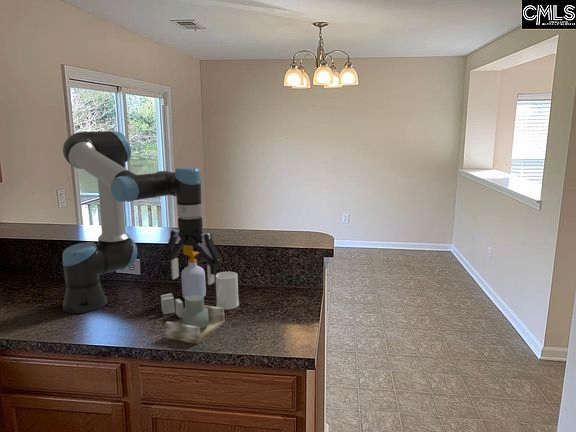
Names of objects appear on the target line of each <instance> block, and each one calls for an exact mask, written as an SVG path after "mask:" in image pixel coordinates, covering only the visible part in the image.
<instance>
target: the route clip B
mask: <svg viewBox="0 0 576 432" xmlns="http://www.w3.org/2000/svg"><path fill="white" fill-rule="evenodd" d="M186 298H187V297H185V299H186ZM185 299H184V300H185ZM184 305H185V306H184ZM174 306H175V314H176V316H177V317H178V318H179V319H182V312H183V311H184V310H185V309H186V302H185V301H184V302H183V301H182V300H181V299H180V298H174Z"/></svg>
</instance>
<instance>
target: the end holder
mask: <svg viewBox="0 0 576 432" xmlns="http://www.w3.org/2000/svg"><path fill="white" fill-rule="evenodd" d="M204 307H205V308H207V309H208V316H209V325H207V326H206V327H204V328H202V329H200V327H197V326H191V325H186V324H183V322H181V323H179V322H173V321H168V320H167V321H166V322H165V323H164V326H165V334H164V336H165V338H166V339H171V340H176V341H181V342H186V343H190V344H196V345H198V344H199V343H201V342H202V341H203V340H205V339H206V338H207V337H209V335H211V334H212V333H213V332H214V331H215V330H216V329H218V328H219V327H220V326H222V325H223V324H224V323H225V322H226V318H225V310H224V308H220V307H217V306H213V305H207V304H204Z"/></svg>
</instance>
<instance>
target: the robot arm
mask: <svg viewBox="0 0 576 432" xmlns="http://www.w3.org/2000/svg"><path fill="white" fill-rule="evenodd" d="M62 146H63V147H62V154H63V156H64V159H65V160H66V162H67V163H68V164H70V166H72V167H74V168H76V169H78V170H84V171H85V172H87V173H88V174H90V175H91V176H93V177H95V178H96V179H97V187H98V189H97V190H98V198H99V213H100V225H101V234H100V235H99V236H98V238H97V240H98V241H97V243H98V244H96V243H95V242H92V241H85V242H79V243H75V244H72V245H70V246H68V247H66V248H65V249H64V250H63V252H62V265H63V266H62V267H63V274H64V282H65V294H64V299H63V302H62V309H63V311H64V312H66V313H68V314H83V313H84V314H85V313H88V312H89V313H90V312H92V311H93V312H94V311H97V310H99V309H101V308H103V307H105V305H106V304H107V303H108V299H107V295H106V292H105V291H104V288H103V286H102V284H101V279H100V276H101V275H105V274H108V273H113V272H116V271H120V270H124V269H126V268H128V267H131V266H133V265H134V264H135V262H136V260H137V258H138V257H137V256H138V248H137V245H136V242H135V240H134V239H133V238H131V235H130V234H129V233H128V232H126V221H125V220H126V219H125V206H124V205H125V204H124V202H133V201H138V200H139V201H140V200H145V199H153V198H159V197H165V196H170V197H171V196H172V197H176V208H177V209H176V210H177V216H178V218H177V226H178V227H177V228H178V229H177V228H175V229H173V230H171V231H170V237H169V239H168V242H167V244H166V247H165V250H164V253H163V257H164V258H167V259H168V260H169V268H170V269H171V279H172V280H176V279H178V278H180V277H179V276H180V273H179V272H180V270H179V257H177V256H178V254H179V253H180V251H181V250H183V246H184V245H186V246H189V245H190V246H193V247H195V249H197V250H199V253H201V255H202V256H203V257H204V259H205V260H206V261H207V263H208V264H207V265H206V267H207V269H206V270H207V285H209V286H210V285H213V284H214V283H216V280H215V275H216V274H217V264H219V263H221V262H222V257H221V255H220V253H219V251H218V249H217V246H216V244H215V243H214V240H213V235H212V232H207V233H206V232H205V233H203V216H202V215H203V207H202V206H203V205H202V183H201V182H202V179H201V171H200V169H199V168H198V167H195V166H192V167H191V166H184V167H183V166H181V167H177V168H176V169H175V171H174V172H173V171H172V172H171V171H168V170H162V171H161V170H159V171H156V172H154V173H153V172H152V173H145V174H144V173H143V174H137V173H134V172H132V171H130V170H129V169H126V163H127V162H129V161H130V159H131V156H132V148H131V144H130V142H129V140H128V138H127V137H126V135H124V134H123V133H122V132H120V131H112V130H106V131H104V130H103V131H102V130H101V131H100V130H99V131H78V132H76V133H73V134H71V135H70V136H69V137H68V138H66V139H65V141H64V143H63V145H62ZM178 237H179V239H180V240H179V241H178V243H177V244H176V242H177V240H178ZM175 245H176V246H175Z"/></svg>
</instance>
